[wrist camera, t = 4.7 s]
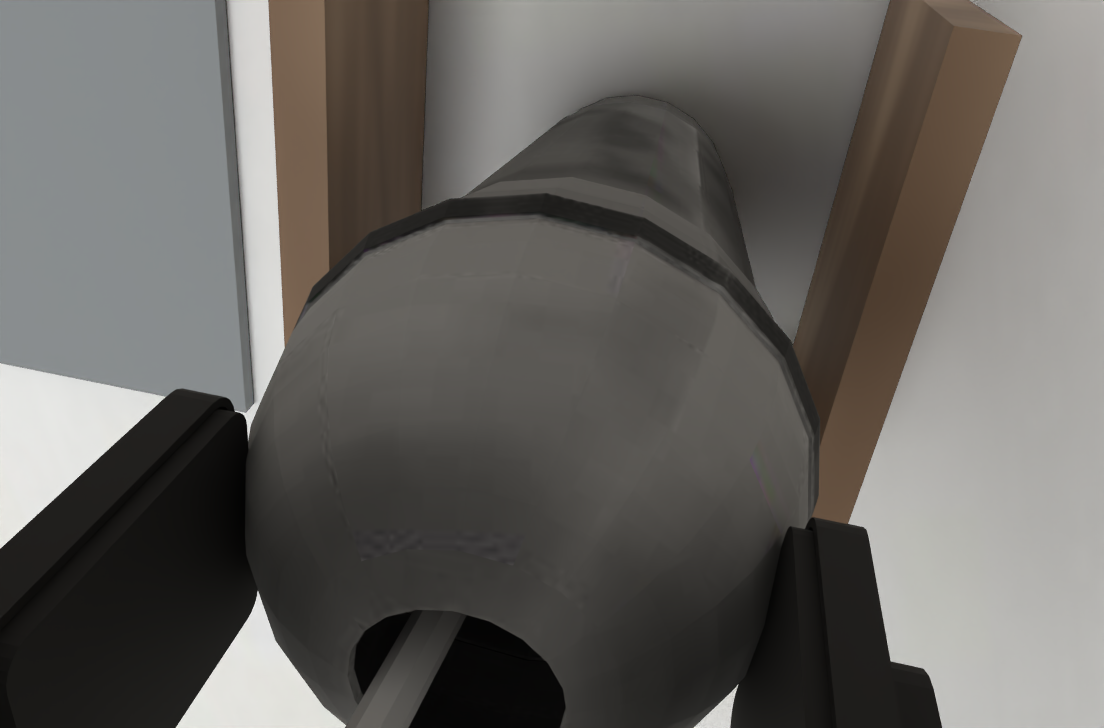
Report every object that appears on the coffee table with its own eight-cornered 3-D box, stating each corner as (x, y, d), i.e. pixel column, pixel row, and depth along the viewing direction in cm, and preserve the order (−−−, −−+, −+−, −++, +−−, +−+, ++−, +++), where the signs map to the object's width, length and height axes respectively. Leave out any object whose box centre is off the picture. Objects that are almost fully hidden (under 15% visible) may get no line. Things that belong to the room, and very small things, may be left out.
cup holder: (945, -15, 19) (1022, 36, 14) (811, 423, 24) (828, 576, 19) (388, -92, 20) (264, -73, 15) (381, 341, 26) (290, 465, 20)
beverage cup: (808, 299, 22) (1023, 1752, 5) (531, 346, 24) (24, 1495, 7) (756, -8, 19) (858, 1045, 2) (444, 77, 21) (-786, 953, 4)
